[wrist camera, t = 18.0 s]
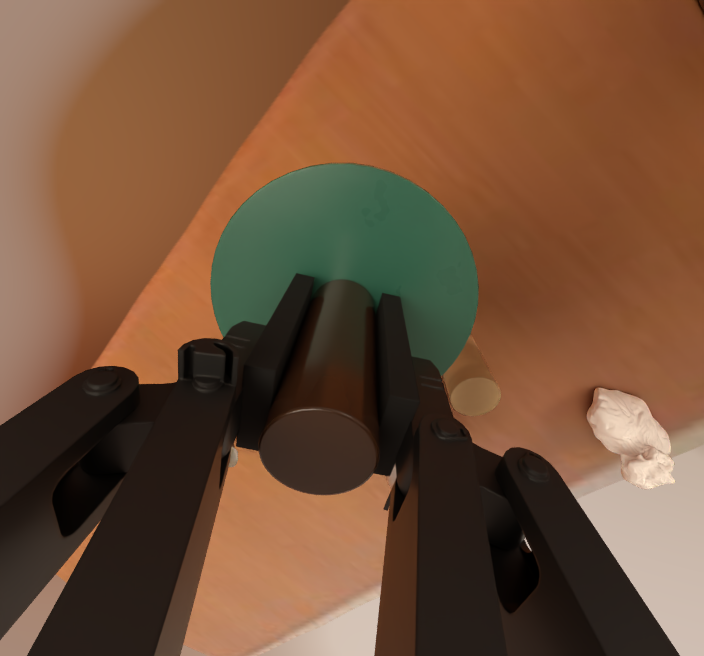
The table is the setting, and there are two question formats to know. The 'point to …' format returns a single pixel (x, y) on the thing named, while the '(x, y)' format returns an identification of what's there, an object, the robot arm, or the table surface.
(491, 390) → the stick
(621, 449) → the bust
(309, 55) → the table surface
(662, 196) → the table surface
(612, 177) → the table surface
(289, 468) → the lid
